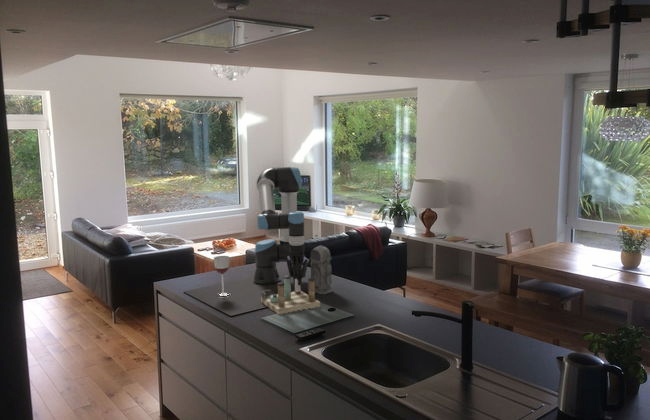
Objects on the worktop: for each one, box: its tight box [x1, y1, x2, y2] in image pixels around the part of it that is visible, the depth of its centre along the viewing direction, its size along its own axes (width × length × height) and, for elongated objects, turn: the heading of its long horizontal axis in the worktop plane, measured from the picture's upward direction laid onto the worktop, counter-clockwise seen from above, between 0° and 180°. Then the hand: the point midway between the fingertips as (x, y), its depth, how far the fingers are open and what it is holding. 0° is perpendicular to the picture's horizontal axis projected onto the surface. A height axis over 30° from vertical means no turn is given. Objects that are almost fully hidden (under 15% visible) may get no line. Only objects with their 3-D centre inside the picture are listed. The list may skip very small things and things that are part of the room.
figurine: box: [309, 244, 333, 295], centre depth 289 cm, size 10×14×25 cm
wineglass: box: [213, 255, 230, 297], centre depth 285 cm, size 8×9×20 cm
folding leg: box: [270, 275, 292, 303], centre depth 267 cm, size 12×4×11 cm, turn 133°
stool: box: [260, 277, 321, 315], centre depth 268 cm, size 22×22×14 cm
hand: (297, 291), depth 267 cm, fingers closed
